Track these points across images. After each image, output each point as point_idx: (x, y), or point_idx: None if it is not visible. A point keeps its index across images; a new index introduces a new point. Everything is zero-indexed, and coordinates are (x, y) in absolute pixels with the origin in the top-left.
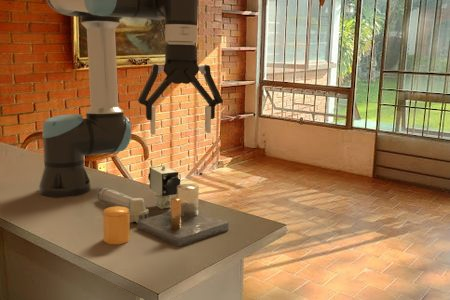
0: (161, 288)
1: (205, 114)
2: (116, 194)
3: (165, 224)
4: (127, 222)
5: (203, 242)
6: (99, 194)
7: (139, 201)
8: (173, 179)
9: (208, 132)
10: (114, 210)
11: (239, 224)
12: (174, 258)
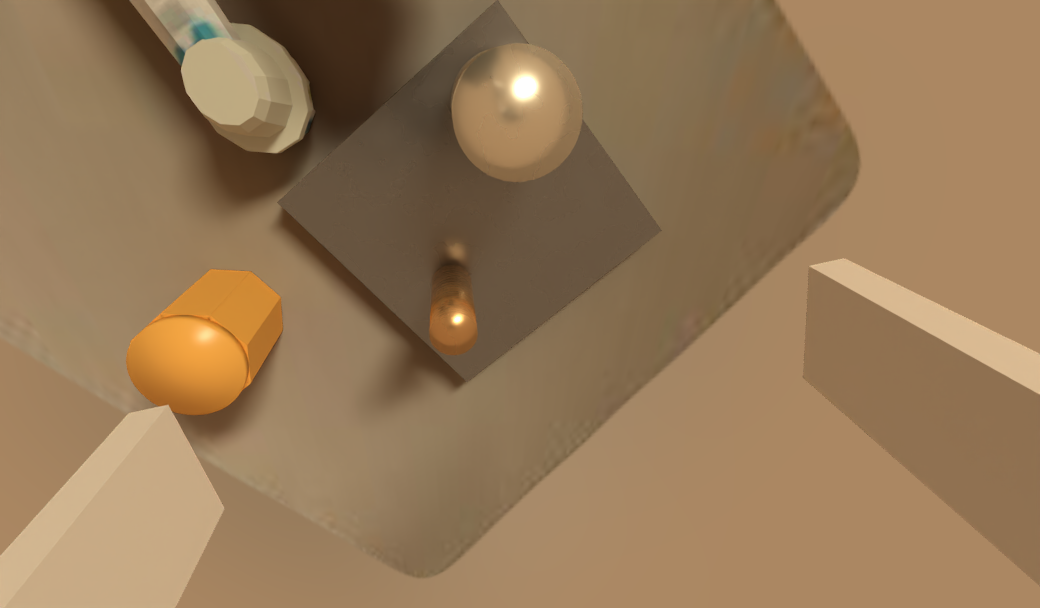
0: (428, 573)
1: (1003, 398)
2: None
3: (408, 251)
4: (259, 366)
5: (545, 333)
6: None
7: (246, 127)
8: None
9: (816, 377)
10: (179, 374)
11: (708, 159)
12: (452, 441)
